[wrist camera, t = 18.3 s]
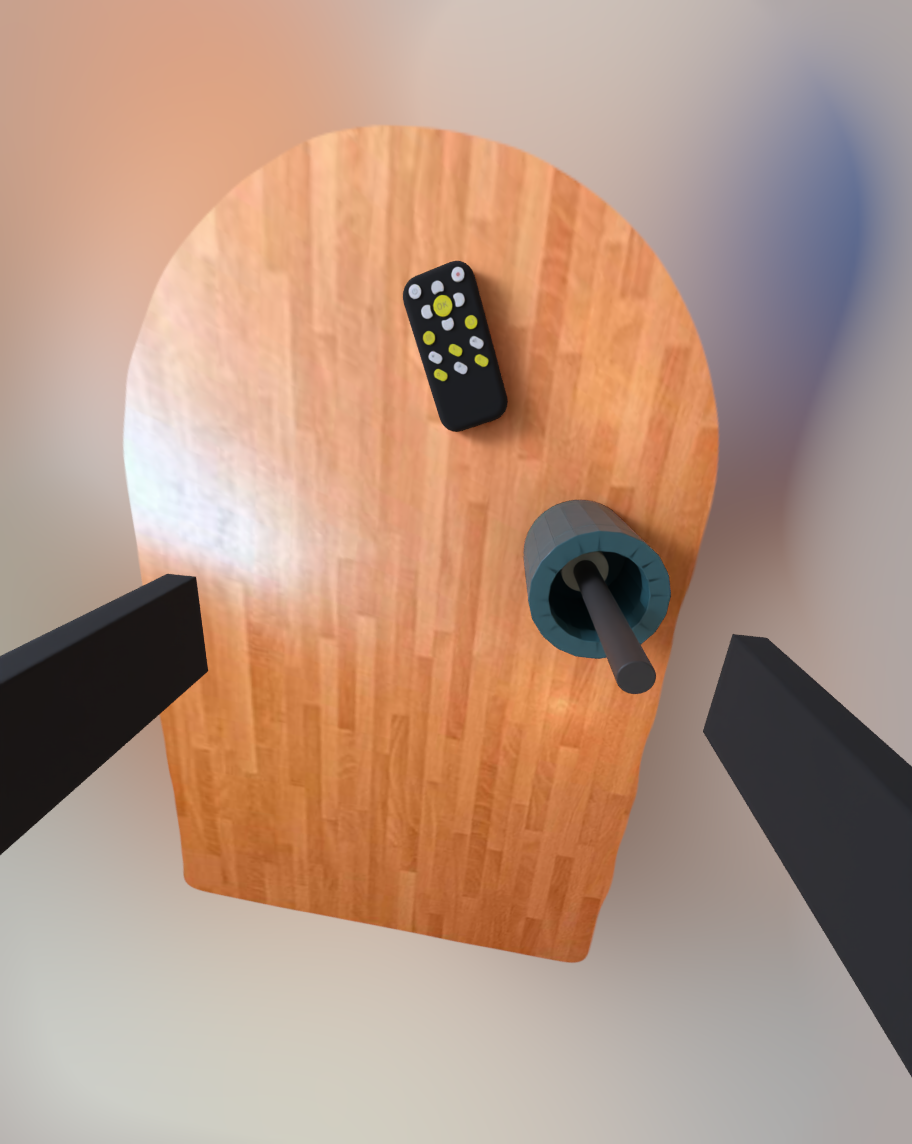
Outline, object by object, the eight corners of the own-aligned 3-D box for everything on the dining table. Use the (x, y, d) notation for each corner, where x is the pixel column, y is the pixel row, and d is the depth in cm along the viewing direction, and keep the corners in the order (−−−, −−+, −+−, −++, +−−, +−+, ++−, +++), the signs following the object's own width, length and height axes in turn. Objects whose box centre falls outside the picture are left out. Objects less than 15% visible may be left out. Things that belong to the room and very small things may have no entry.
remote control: (447, 435, 43) (444, 436, 42) (401, 287, 40) (395, 281, 38) (511, 414, 42) (511, 414, 40) (470, 259, 39) (468, 251, 37)
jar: (639, 504, 44) (685, 538, 32) (618, 603, 47) (654, 665, 36) (530, 495, 44) (538, 524, 33) (518, 593, 48) (521, 650, 37)
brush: (601, 535, 44) (684, 648, 23) (594, 575, 45) (667, 714, 25) (558, 531, 44) (604, 640, 24) (553, 570, 46) (591, 705, 25)
